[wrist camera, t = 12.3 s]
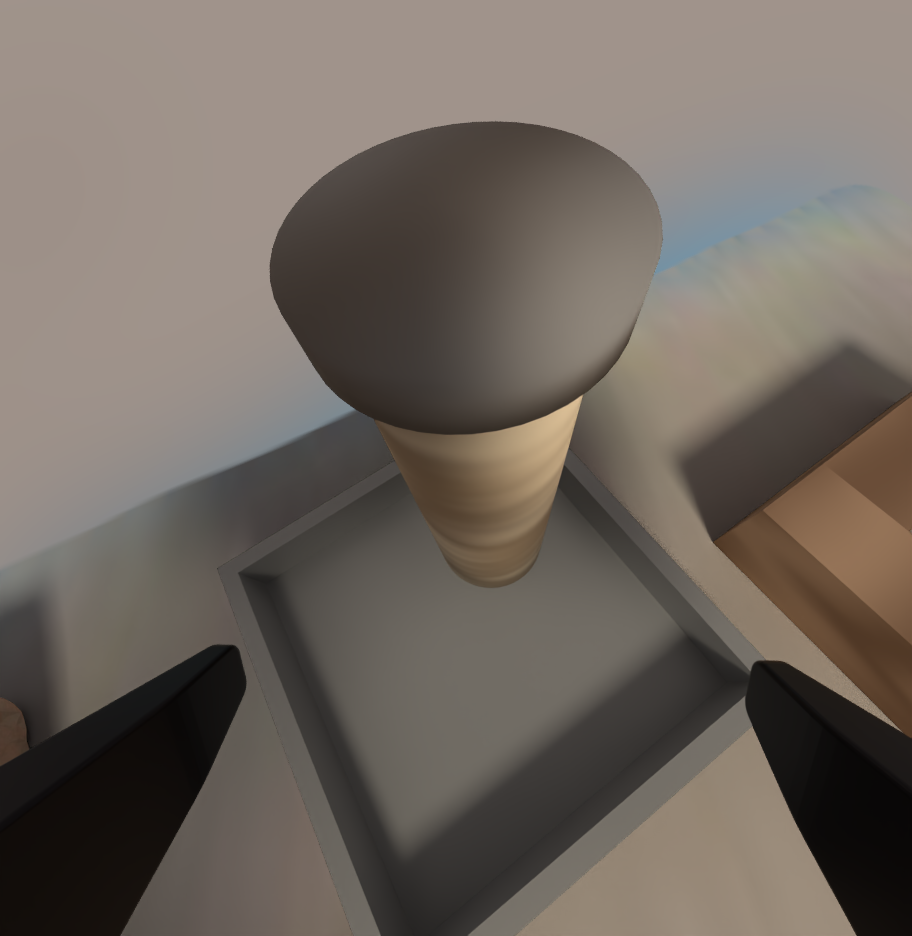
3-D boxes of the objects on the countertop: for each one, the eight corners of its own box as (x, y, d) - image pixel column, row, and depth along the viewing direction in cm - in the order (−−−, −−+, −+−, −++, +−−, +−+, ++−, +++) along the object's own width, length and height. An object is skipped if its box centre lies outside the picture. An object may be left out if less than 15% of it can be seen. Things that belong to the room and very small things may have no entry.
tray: (747, 688, 14) (793, 689, 12) (413, 974, 12) (393, 1042, 10) (512, 420, 20) (513, 388, 18) (253, 582, 17) (216, 568, 15)
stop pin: (570, 511, 17) (712, 154, 5) (519, 622, 15) (565, 455, 4) (465, 464, 18) (398, 102, 7) (408, 562, 17) (190, 303, 5)
